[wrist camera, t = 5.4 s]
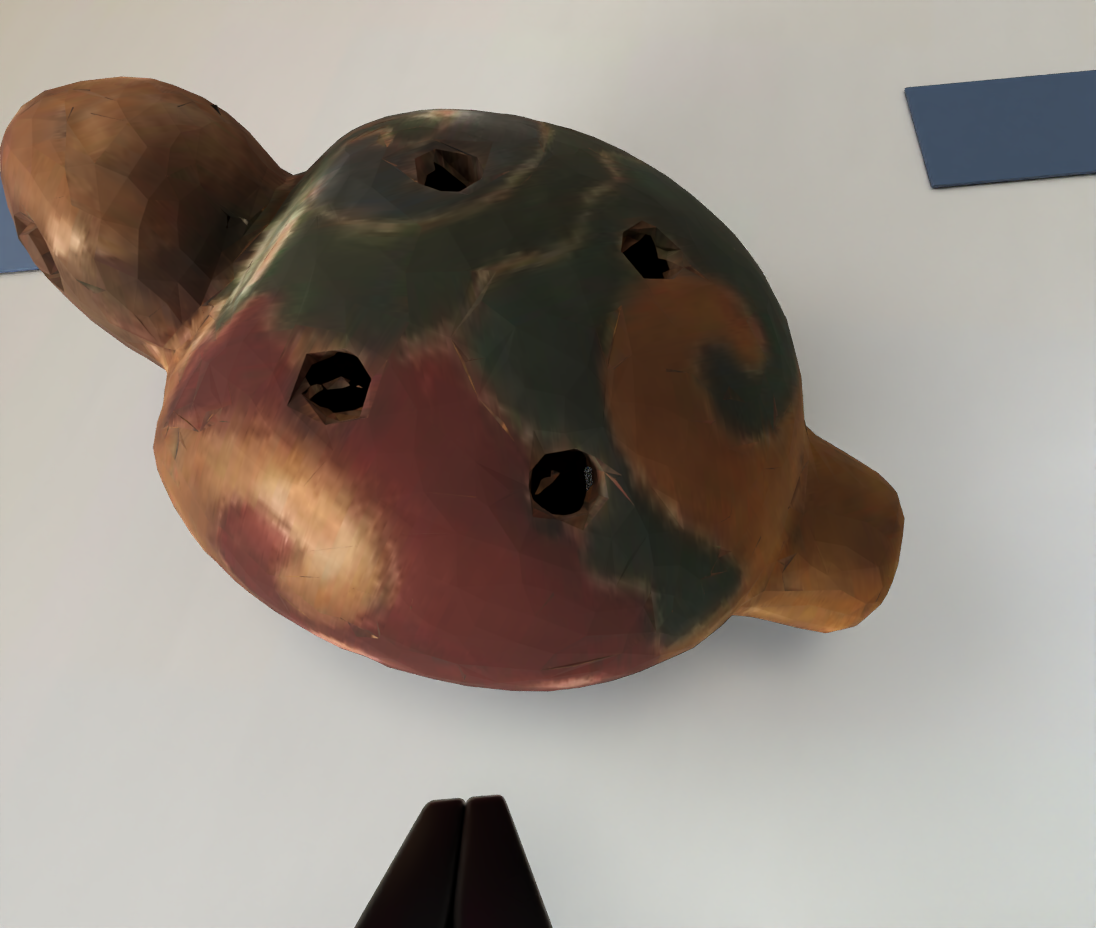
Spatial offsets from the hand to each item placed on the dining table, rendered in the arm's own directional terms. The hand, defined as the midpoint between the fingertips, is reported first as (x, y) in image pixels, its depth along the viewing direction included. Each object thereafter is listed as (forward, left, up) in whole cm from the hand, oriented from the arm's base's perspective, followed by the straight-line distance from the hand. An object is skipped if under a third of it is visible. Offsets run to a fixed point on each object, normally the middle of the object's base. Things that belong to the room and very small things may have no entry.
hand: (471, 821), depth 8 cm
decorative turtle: (+4, -5, -7) cm, 10 cm away
